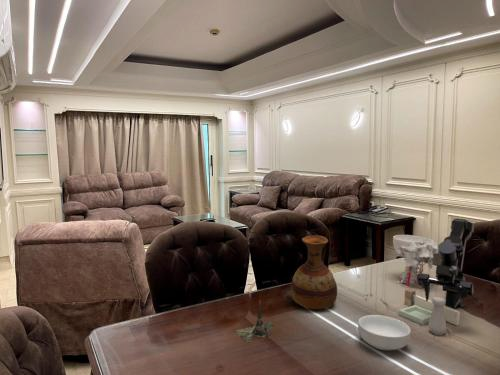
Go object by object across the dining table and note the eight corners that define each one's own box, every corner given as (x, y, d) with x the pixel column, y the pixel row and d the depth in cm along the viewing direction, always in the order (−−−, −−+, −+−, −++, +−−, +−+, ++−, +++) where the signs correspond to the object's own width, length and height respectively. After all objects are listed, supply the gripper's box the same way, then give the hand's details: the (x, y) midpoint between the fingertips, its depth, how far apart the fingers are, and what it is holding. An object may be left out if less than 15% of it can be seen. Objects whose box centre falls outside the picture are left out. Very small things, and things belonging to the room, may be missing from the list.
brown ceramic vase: (284, 308, 154) (286, 237, 152) (297, 292, 172) (299, 229, 170) (332, 316, 146) (334, 242, 144) (339, 299, 165) (342, 233, 163)
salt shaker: (448, 337, 131) (450, 301, 130) (430, 335, 132) (432, 300, 131) (443, 329, 137) (445, 295, 136) (426, 328, 138) (428, 294, 137)
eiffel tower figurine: (269, 323, 140) (270, 289, 139) (284, 335, 131) (285, 298, 130) (234, 331, 133) (234, 295, 132) (247, 344, 124) (247, 305, 123)
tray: (414, 310, 154) (414, 305, 154) (438, 319, 146) (438, 314, 145) (398, 315, 149) (398, 310, 149) (422, 325, 140) (422, 319, 140)
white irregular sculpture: (382, 277, 197) (384, 235, 195) (411, 275, 203) (413, 234, 201) (415, 294, 173) (418, 246, 172) (448, 290, 179) (450, 244, 177)
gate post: (409, 303, 162) (409, 288, 161) (414, 305, 159) (415, 290, 159) (404, 304, 160) (405, 289, 160) (410, 307, 158) (410, 291, 157)
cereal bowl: (404, 363, 113) (406, 341, 113) (351, 348, 122) (352, 327, 121) (413, 341, 128) (414, 321, 127) (364, 329, 136) (365, 310, 136)
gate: (413, 305, 159) (414, 294, 158) (459, 324, 141) (459, 311, 140) (411, 306, 158) (411, 294, 158) (456, 325, 140) (457, 312, 140)
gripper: (419, 252, 144) (410, 287, 137) (474, 261, 133) (468, 299, 125) (423, 267, 151) (414, 301, 143) (475, 277, 140) (469, 314, 132)
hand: (440, 303), depth 136 cm, fingers open, 9 cm apart
